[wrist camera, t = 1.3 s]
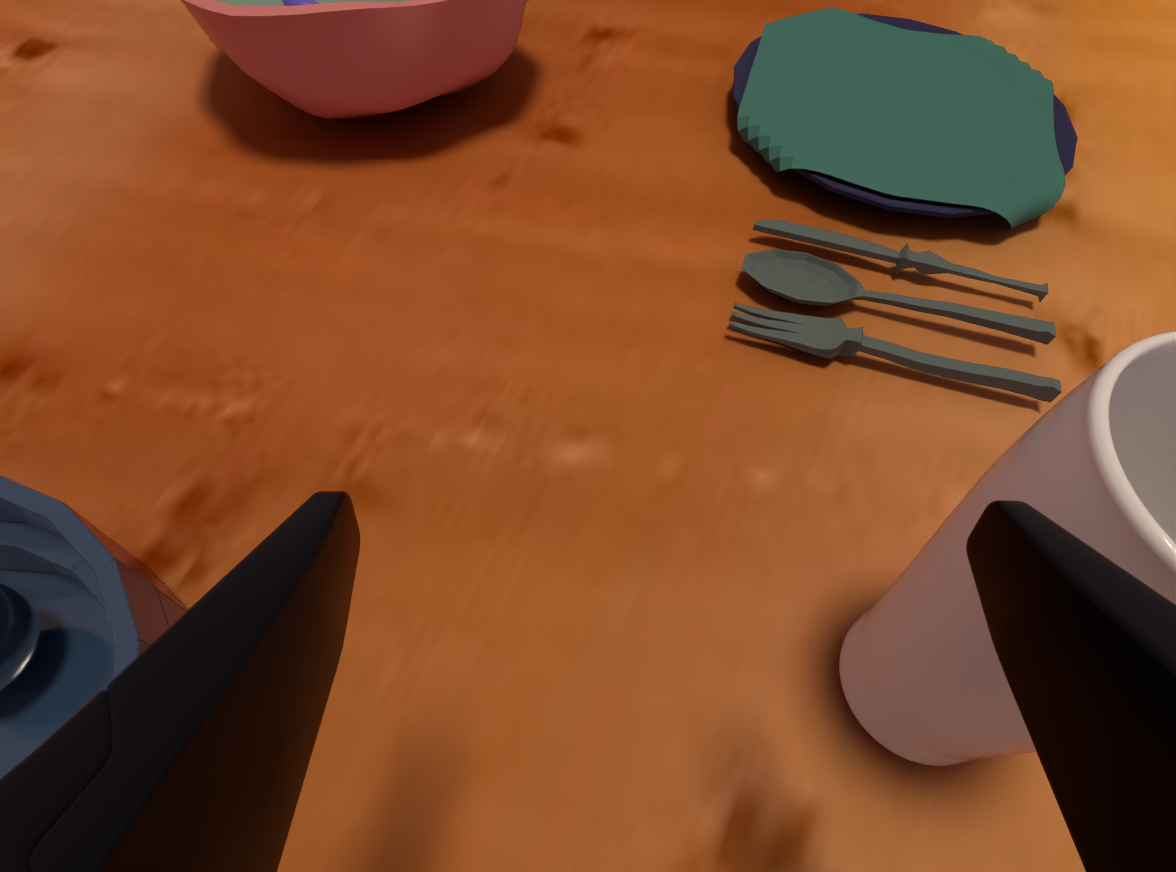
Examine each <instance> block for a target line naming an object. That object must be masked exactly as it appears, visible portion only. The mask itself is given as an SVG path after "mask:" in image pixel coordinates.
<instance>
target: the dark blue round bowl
mask: <svg viewBox="0 0 1176 872" xmlns="http://www.w3.org/2000/svg"><path fill="white" fill-rule="evenodd" d="M0 583H1V584H4V585H6V586H8V587H10V588H13V589H14V590H16V591H17V592H19V593H20V594H21V595H23V596H24V597H25V598H26V599H27V600H28V601H29V603H30V604H31V605H32V607H33V608H34V610H35V612H36V614H37V617H38V620H39V626H40V639H39V644H38V648H37V651H36V654H35V656H34V658H33V660H32V662H31V664H30V665H29V666H28V668H27V669H26V671H25V672H24V673H23V674H22V675H21V676H20V677H19V678H18V679H17V680H16V681H15V682H14V683H13V684H12V685H11V686H10V687H8V688H7V689H5V690H4V691H2V692H1V693H0V779H1V778H2V777H4V776H5V775H6V774H7V773H8V772H10V771H11V770H12V769H13V768H14V767H16V766H17V765H18V764H19V763H20V762H22V761H23V760H24V759H25V758H26V757H28V756H29V755H30V754H31V753H32V752H33V751H35V750H36V749H37V748H38V747H39V746H40V745H41V744H42V743H44V742H45V741H46V740H47V739H48V738H49V737H50V736H51V735H53V734H54V733H55V732H56V731H57V730H58V729H59V728H60V727H62V726H63V725H64V724H65V723H66V722H67V721H68V720H69V719H71V718H72V717H73V716H74V715H75V714H76V713H77V712H78V711H79V710H80V709H82V708H83V707H84V706H85V705H86V704H87V703H88V702H89V701H90V700H91V699H92V698H93V697H95V696H96V695H97V694H98V693H99V692H100V691H102V690H106V691H107V685H108V684H109V683H110V682H111V681H112V680H113V679H114V678H115V677H116V676H118V675H119V674H120V673H121V672H122V671H123V670H124V669H125V668H126V667H127V666H128V665H129V664H131V663H132V662H133V661H134V660H135V659H136V658H137V657H138V656H139V655H140V654H141V653H142V652H143V651H145V650H146V649H147V648H148V647H149V646H150V645H151V644H152V643H153V642H154V641H155V640H156V639H158V638H159V637H160V636H161V635H162V634H163V633H164V632H165V631H166V630H167V629H168V628H169V627H171V626H172V625H173V624H174V623H175V622H176V621H177V620H178V619H179V618H180V617H181V616H182V615H183V614H185V613H186V612H187V611H188V610H187V609H186V608H185V607H184V606H183V605H182V604H181V603H180V601H179V600H178V599H177V598H176V597H175V596H174V595H173V594H172V593H171V592H170V591H169V590H168V589H167V588H166V586H165V585H164V584H163V583H162V582H161V581H160V580H159V579H158V578H157V577H156V576H155V575H154V574H153V573H152V572H151V570H150V569H149V568H148V567H147V566H146V565H145V564H143V563H142V562H141V561H139V560H138V559H137V558H135V557H134V556H133V555H132V554H130V553H129V552H128V551H126V550H125V549H124V548H122V547H121V546H120V545H119V544H117V543H116V542H115V541H113V540H112V539H110V538H109V537H108V536H107V535H106V534H104V533H103V532H102V531H100V530H99V529H98V528H96V527H95V526H94V525H93V524H91V523H90V522H89V521H87V520H86V519H85V518H83V517H82V516H81V515H79V514H78V513H77V512H76V511H74V510H73V509H72V508H70V507H69V506H68V505H66V504H65V503H64V502H61V501H59V500H57V499H54V498H52V497H50V496H47V495H45V494H43V493H40V492H38V491H36V490H33V489H31V488H29V487H26V486H24V485H22V484H19V483H17V482H15V481H12V480H10V479H8V478H5V477H3V476H0Z"/></svg>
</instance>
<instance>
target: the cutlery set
mask: <svg viewBox="0 0 1176 872" xmlns="http://www.w3.org/2000/svg"><path fill="white" fill-rule="evenodd" d="M733 101H734V103H735V105H736V107H737V109H738V116H737V122H738V132H739V133H740V135H741V137H742V138H743V140H744V142H746V143H748V144H749V145H751V146H752V147H753V148H754V150H755V151H756V152H757V153H759V154H761V155H762V156H763V158H764V160H765V161H766V162H767V163H769V164H770V165H772V167H773V168H774V170H775V172H779V171H783V170H786V169H792V170H794V171H796V172H797V173H799V174H801V175H803V176H804V177H806V178H808V179H810V180H811V181H813V182H815V183H817V184H818V185H820V186H822V187H824V188H825V189H827V190H829V191H831V192H834V193H837V194H840V195H843V196H846V197H849V198H852V199H856V200H859V201H862V202H865V203H868V204H871V205H874V206H877V207H880V208H883V209H886V210H891V211H898V212H906V213H914V214H922V215H930V216H938V217H946V218H953V217H964V216H975V215H987V214H1000V215H1001V216H1003V217H1004V218H1005V219H1007V221H1008V222H1009V223H1010V225H1011V227H1009V228H1006V229H1011V228H1013V227H1015V226H1017V225H1019V224H1022V223H1025V222H1027V221H1030V220H1032V219H1035V218H1037V217H1039V216H1041V215H1042V214H1044V213H1046V212H1047V211H1049V210H1051V209H1052V207H1053V206H1054V205H1055V204H1056V202H1057V201H1058V200H1059V199H1060V197H1061V195H1062V192H1063V189H1064V187H1065V175H1066V174H1067V173H1068V172H1069V171H1070V169H1071V168H1072V167H1073V162H1074V155H1075V149H1076V142H1077V135H1076V133H1075V130H1074V128H1073V125H1072V123H1071V120H1070V118H1069V115H1068V113H1067V111H1066V108H1065V106H1064V105H1063V104H1062V102H1061V101H1060V100H1059V99H1058V98H1057V97H1056V96H1055V95H1054V91H1053V84H1052V81H1050V80H1048V79H1045V78H1044V77H1043V75H1042V74H1041V72H1040V71H1037V70H1033V69H1031V67H1030V66H1029V64H1028V63H1026V62H1021V61H1019V59H1018V58H1017V57H1016V55H1014V54H1009V53H1007V51H1006V50H1005V48H1004V47H1001V46H997V45H994V43H993V42H992V41H990V40H988V39H985V38H982V37H978V36H970V35H962V34H960V33H958V32H955V31H951V30H948V29H944V28H940V27H937V26H933V25H929V24H925V23H922V22H918V21H914V20H911V19H904V18H896V17H887V16H878V15H870V14H855V13H852V12H849V11H846V10H842V9H838V8H825V9H821V10H817V11H812V12H807V13H802V14H798V15H794V16H791V17H787V18H784V19H781V20H778V21H775V22H771V23H768V24H766V25H765V27H764V31H763V34H762V36H761V37H759V38H757V39H756V40H754V41H752V42H751V43H750V44H749V46H748V47H747V49H746V50H745V52H744V53H743V55H742V56H741V57H740V59H739V60H738V62H737V63H736V65H735V66H734V88H733ZM753 230H756V231H760V232H764V233H769V234H773V235H777V236H781V237H785V238H790V239H794V240H798V241H802V242H807V243H811V244H815V245H819V246H824V247H828V248H832V249H836V250H841V251H845V252H849V253H853V254H858V255H862V256H866V257H870V258H875V259H879V260H883V261H887V262H892V263H896V269H897V274H898V273H899V272H900V271H901V270H902V269H905V268H913V267H914V268H915V269H916V270H918V271H919V272H920V273H921V274H923V275H924V274H941V273H950V274H955V275H959V276H963V277H967V278H971V279H976V280H981V281H986V282H991V283H996V284H999V285H1002V286H1006V287H1009V288H1013V289H1016V290H1019V291H1023V292H1026V293H1030V294H1033V295H1036V296H1038V298H1039V302H1041V301H1042V299H1043V298H1044V297H1045V296H1046V295H1047V294H1048V284H1047V283H1046V284H1043V285H1038V284H1033V283H1027V282H1022V281H1017V280H1012V279H1007V278H1002V277H997V276H994V275H991V274H988V273H985V272H982V271H979V270H977V269H973V268H969V267H965V266H961V265H956V264H952V263H950V262H948V261H946V260H945V259H943V258H941V257H940V256H938V255H936V254H935V253H933V252H931V251H925V252H920V253H916V252H913V251H911V250H910V249H909V247H908V243H907V244H906V245H905V246H904V247H903V249H902V250H901V251H900V252H899V251H896V250H893V249H890V248H887V247H885V246H881V245H878V244H875V243H872V242H869V241H866V240H863V239H859V238H855V237H852V236H848V235H844V234H839V233H835V232H831V231H827V230H823V229H819V228H814V227H810V226H805V225H801V224H796V223H792V222H787V221H782V220H763V221H757V222H755V224H754V227H753ZM742 269H743V270H744V271H746V272H747V273H748V274H749V275H750V276H752V277H753V278H754V279H755V280H756V281H758V282H759V283H760V284H761V285H762V286H764V287H765V288H766V289H767V290H768V291H769V292H771V293H774V294H776V295H779V296H781V297H784V298H786V299H789V300H791V301H794V302H796V303H799V304H810V305H821V306H830V305H834V304H837V303H840V302H843V301H846V300H866V301H871V302H877V303H882V304H888V305H893V306H897V307H901V308H906V309H910V310H914V311H919V312H924V313H929V314H935V315H940V316H945V317H949V318H953V319H957V320H961V321H965V322H968V323H972V324H976V325H980V326H984V327H988V328H992V329H995V330H999V331H1003V332H1007V333H1010V334H1013V335H1017V336H1020V337H1023V338H1027V339H1030V340H1033V341H1037V342H1040V343H1044V344H1048V343H1050V342H1051V341H1052V340H1053V339H1054V338H1055V337H1056V336H1055V325H1054V323H1053V322H1047V321H1042V320H1037V319H1032V318H1027V317H1021V316H1016V315H1011V314H1006V313H1001V312H996V311H990V310H985V309H980V308H975V307H970V306H965V305H961V304H956V303H950V302H942V301H934V300H927V299H920V298H914V297H908V296H902V295H897V294H889V293H881V292H873V291H865V289H864V288H863V286H862V285H861V283H860V282H859V281H858V280H857V279H856V278H854V277H853V276H852V275H851V274H849V273H848V272H847V271H846V270H844V269H843V268H842V267H841V266H839V265H838V264H835V263H832V262H830V261H827V260H824V259H822V258H819V257H816V256H814V255H811V254H808V253H804V252H795V251H786V250H777V249H769V250H764V251H760V252H755V253H750V254H746V255H745V258H744V262H743V266H742ZM734 309H737V310H739V311H742V312H744V313H746V314H749V315H752V316H755V317H751V316H747V315H744V314H740V313H737V312H732V316H731V317H732V318H734V319H737V320H739V321H742V322H744V323H746V324H749V325H753V326H756V327H753V326H748V325H744V324H741V323H737V322H734V321H730V323H729V327H732V328H734V329H736V330H739V331H741V332H743V333H746V334H749V335H753V336H757V337H760V338H764V339H768V340H771V341H775V342H779V343H782V344H785V345H788V346H790V347H793V348H796V349H798V350H801V351H804V352H807V353H810V354H813V355H816V356H820V357H824V358H828V359H831V358H833V357H835V356H837V355H842V356H849V357H853V356H854V355H855V354H856V353H857V352H858V351H860V352H864V353H867V354H870V355H873V356H877V357H880V358H883V359H886V360H889V361H892V362H895V363H898V364H900V365H903V366H906V367H909V368H911V369H915V370H919V371H923V372H927V373H931V374H935V375H939V376H943V377H947V378H951V379H956V380H960V381H964V382H969V383H974V384H979V385H984V386H989V387H994V388H1000V389H1003V390H1007V391H1011V392H1015V393H1018V394H1022V395H1026V396H1030V397H1032V398H1035V399H1038V400H1042V401H1046V402H1052V401H1053V400H1054V399H1055V398H1056V397H1057V396H1058V395H1059V394H1060V393H1061V384H1060V381H1059V380H1056V379H1053V378H1048V377H1042V376H1036V375H1032V374H1028V373H1024V372H1019V371H1015V370H1011V369H1006V368H999V367H993V366H987V365H981V364H975V363H970V362H965V361H960V360H955V359H950V358H945V357H941V356H936V355H931V354H927V353H922V352H918V351H915V350H912V349H909V348H906V347H903V346H900V345H896V344H893V343H890V342H887V341H883V340H879V339H876V338H872V337H868V336H864V335H863V327H861V328H853V329H847V327H846V325H845V324H844V322H843V320H842V318H841V317H837V318H833V319H831V318H820V317H813V316H807V315H800V314H793V313H786V312H777V311H770V310H764V309H759V308H754V307H750V306H746V305H743V304H739V303H735V304H734ZM757 317H759V318H757ZM762 318H763V319H762ZM758 327H760V328H758Z"/></svg>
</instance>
